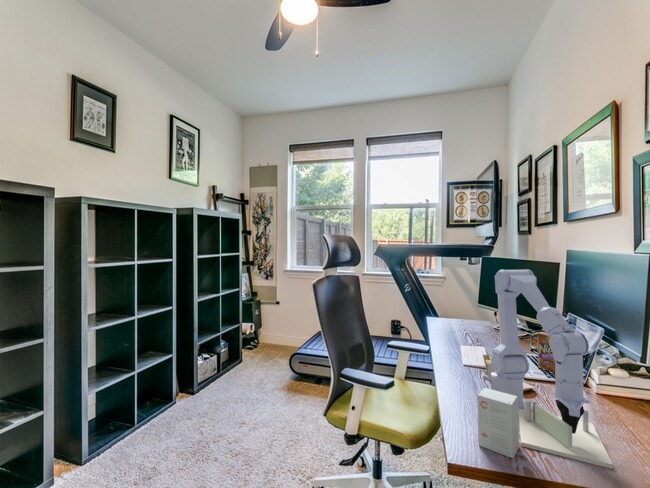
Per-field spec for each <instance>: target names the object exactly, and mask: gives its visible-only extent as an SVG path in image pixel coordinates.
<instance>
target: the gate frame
mask: <svg viewBox="0 0 650 488" xmlns="http://www.w3.org/2000/svg"><path fill="white" fill-rule="evenodd" d="M583 409H584V414H583V415H582V420H579V422H578V425H577V429H576V432H575V434H573V433H572V448H568V447H567V446H566V445H564V444H563V443H562V442H561V441H559V440H558V439H557V438H555V437H554V436H553V435H552V434H550V433H549V432H548V431H546V430H545V429H544V428H543V427H541V426H540V425H539V424H538V423H536V422H535V421H534V420H533V410H532V402H531V401H530V400H528V399H524V409H520V408H518V416H519V440H520V446H521V447H525V448H527V449H532V450H537V451H538V452H539V451H540V452H544V453H547V454H551V455H556V456H559V457H564V458H568V459H572V460H576V461H579V462H584V463H587V464H590V465H591V464H592V465H596V466H598V467H599V466H600V467H603V468H608V469H610V470H611V469H612V470H614V464H613V462H612V460H611V457H610V456H609V454H608V452H607V450H606V448H605V446H604V443H603V442H602V440H601V438H600V436H599V433H598V432H597V429H596V428H595V426H594V424H593V423H592V422H590V421H589V410H588V409H585V408H583ZM556 416H557V415H556ZM557 417H558V418H560V419H561V420H562V417H561V416H560V415H559V416H557Z"/></svg>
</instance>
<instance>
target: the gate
mask: <svg viewBox="0 0 650 488" xmlns="http://www.w3.org/2000/svg"><path fill="white" fill-rule="evenodd" d="M532 411H533V420H534V421H535V422H536V423H538V424H539V425H540V426H541V427H543V428H544V429H545V430H546V431H548V432H549V433H550V434H552V435H553V436H554V437H555V438H557V439H558V440H559V441H561V442H562V443H563V444H564V445H566V446H567V447H568V448H572V427H571V426H570V425H568V424H567V423H565V422H564V421H562V420H561V419H560V418H558V417H557V415H555V414H554V413H552V412H551V411H549V410H548V409H547V408H545V407H543V406H542V405H540V404H539V403H537V402H536V401H533V402H532Z"/></svg>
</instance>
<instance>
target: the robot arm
mask: <svg viewBox="0 0 650 488" xmlns="http://www.w3.org/2000/svg"><path fill="white" fill-rule="evenodd" d="M494 287H495V289H494V290H495V294H497V308H498V323H499V325H498V326H499V338H500V340H499V341H500V343H499V344H498V345H497V346H496V347H494V348H493V349H492V356H491V358H492V360H491V364H492V367H493V369H494V371H495V372H491V381H490V389H492V390H495V391H499V392H503V393H507V394H511V395H514V396H518V408H519V409H524V400H525V398H524V378H525V377H526V374H528V373H529V369H530V363H529V360H528V357H527V352H526V351H525V349H523V348H522V347H521V346H520V345H519V343H520V342H519V332H518V331H519V330H518V317H517V313H518V312H517V297H518V296H519V295H520V294H522V296H523V297H524V298H525V299H526V300H527V302H528V303H529V304H530V306H532V308H533V309H534V310H535V311H536V312H537V313H536V320H537V321H538V323H539V324H540V325H541V327H542V328H543V330H544V332H546V333H547V334H548V336H549V337H550V340H549V345H550V348H551V350H552V353H553V358H554V360H555V375H554V376H555V383H554V384H555V385H554V386H555V392H554V398H556V399H555V404H556V407H557V409H558V410H559V412H560V417H562V421H564V422H565V423H567V424H568V425H570V426H571V427H572V433H573V434H575V432H576V429H577V425H578V422H579V421H580V419H581V417H583V414H584V409H585V408H584V404H590V399H589V398H588V397H585V396H584V357H583V356H584V355H586V354H587V353H588V351H589V348H590V344H589V340H588V338H587V336H585V334H584V333H583V332H581V331H579V330H576V329H575V328H574V327H571V325H570V324H569V323H568V321H567V320H566V318H565V317H564V316H563V314H562V313H561V312H560V310H559V309H557V308H556V307H552V306H550V305H549V303H548V301H547V300H546V298H545V296H544V295H543V294H542V292H541V291H540V288H538V286H537V276H535V274H534V272H533V271H532V270H530V269H527V268H526V269H499V270H498V271H497V272H496V274H495V275H494ZM524 410H525V409H524Z"/></svg>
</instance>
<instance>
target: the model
mask: <svg viewBox="0 0 650 488" xmlns="http://www.w3.org/2000/svg"><path fill="white" fill-rule="evenodd" d="M482 357H483V362H484V365H485V369H486V374H487V378H488V382H491V372H495V371H494V369H493V367H492V364H491V360H492V356H490V354H489V353H488V354H484V353H482Z"/></svg>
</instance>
